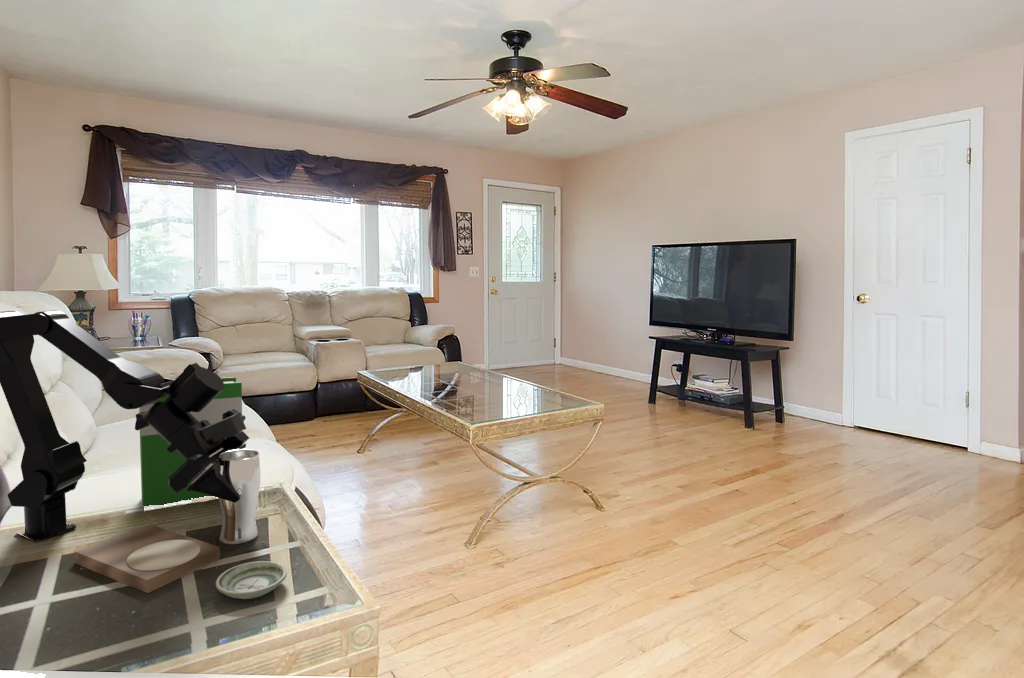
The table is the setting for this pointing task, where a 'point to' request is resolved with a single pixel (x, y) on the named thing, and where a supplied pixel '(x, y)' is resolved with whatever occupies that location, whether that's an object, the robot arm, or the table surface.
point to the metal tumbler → (240, 495)
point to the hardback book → (163, 463)
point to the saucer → (251, 579)
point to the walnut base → (147, 557)
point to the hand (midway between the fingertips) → (246, 492)
